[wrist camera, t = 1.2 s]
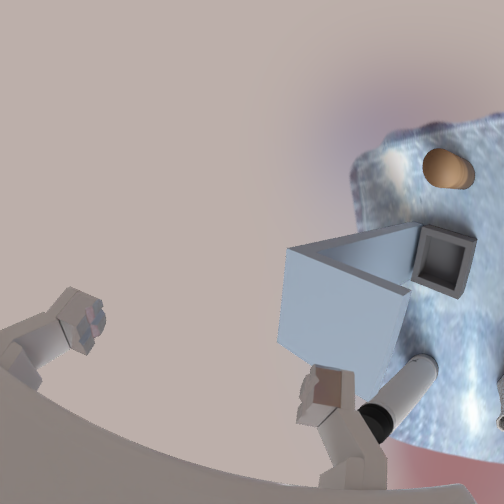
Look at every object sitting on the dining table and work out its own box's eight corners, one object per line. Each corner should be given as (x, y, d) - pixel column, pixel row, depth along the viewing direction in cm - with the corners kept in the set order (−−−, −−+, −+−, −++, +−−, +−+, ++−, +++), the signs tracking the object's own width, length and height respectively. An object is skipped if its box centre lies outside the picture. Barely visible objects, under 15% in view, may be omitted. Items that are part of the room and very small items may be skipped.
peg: (476, 162, 34) (459, 151, 26) (473, 192, 35) (455, 191, 28) (449, 156, 37) (424, 145, 30) (446, 185, 38) (420, 183, 31)
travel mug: (413, 347, 46) (348, 405, 35) (444, 362, 42) (387, 431, 30) (402, 373, 49) (337, 433, 37) (431, 389, 44) (371, 458, 32)
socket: (477, 239, 36) (473, 242, 34) (463, 292, 38) (458, 299, 36) (429, 224, 42) (421, 226, 40) (418, 275, 45) (410, 280, 43)
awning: (476, 241, 36) (403, 296, 19) (460, 303, 39) (368, 402, 22) (412, 221, 44) (286, 248, 27) (401, 279, 47) (276, 342, 30)
